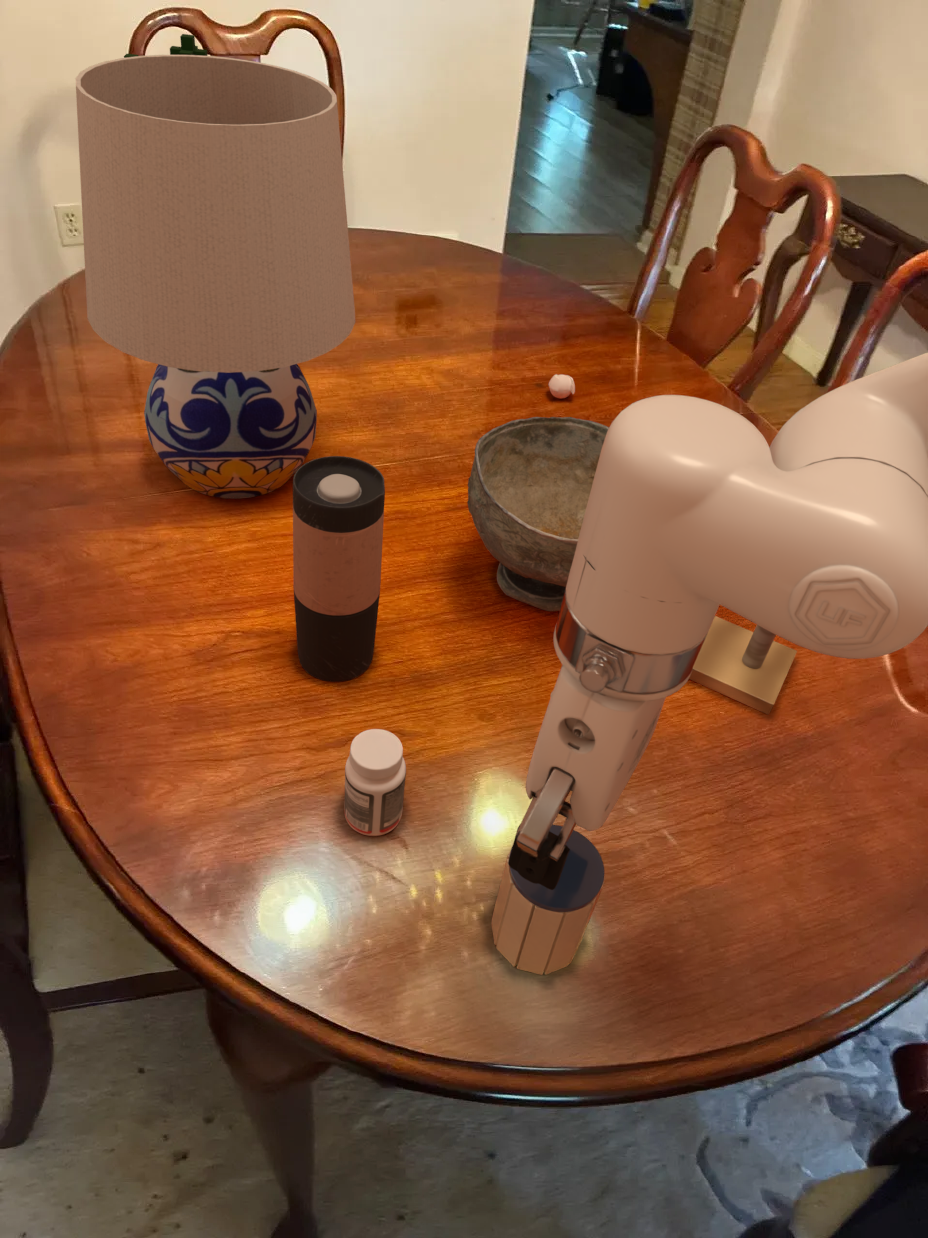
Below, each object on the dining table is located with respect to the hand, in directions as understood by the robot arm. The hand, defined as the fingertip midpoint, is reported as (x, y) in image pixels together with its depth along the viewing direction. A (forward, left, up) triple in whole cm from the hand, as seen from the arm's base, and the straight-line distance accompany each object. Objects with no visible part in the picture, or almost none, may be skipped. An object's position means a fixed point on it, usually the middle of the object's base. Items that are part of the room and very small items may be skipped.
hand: (565, 820), depth 60 cm
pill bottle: (+16, -2, -14) cm, 21 cm away
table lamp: (+57, -34, -14) cm, 68 cm away
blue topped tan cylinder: (0, 0, -14) cm, 14 cm away
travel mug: (+29, -15, -14) cm, 35 cm away
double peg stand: (-2, -37, -14) cm, 40 cm away
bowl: (+17, -37, -14) cm, 43 cm away
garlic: (+34, -75, -14) cm, 84 cm away
